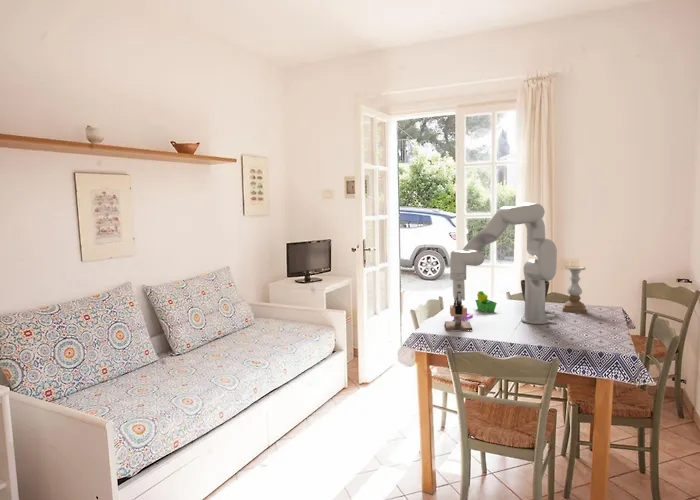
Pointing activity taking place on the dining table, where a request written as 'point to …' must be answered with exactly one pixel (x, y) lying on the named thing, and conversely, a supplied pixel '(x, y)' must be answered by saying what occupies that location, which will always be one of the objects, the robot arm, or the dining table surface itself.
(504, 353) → the dining table surface
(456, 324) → the post stand
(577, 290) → the candle holder
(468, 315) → the bracket
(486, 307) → the fruit basket
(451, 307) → the collar
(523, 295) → the plant pot
